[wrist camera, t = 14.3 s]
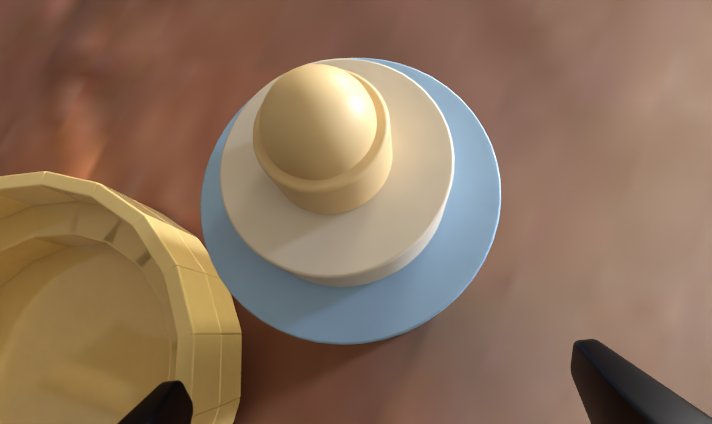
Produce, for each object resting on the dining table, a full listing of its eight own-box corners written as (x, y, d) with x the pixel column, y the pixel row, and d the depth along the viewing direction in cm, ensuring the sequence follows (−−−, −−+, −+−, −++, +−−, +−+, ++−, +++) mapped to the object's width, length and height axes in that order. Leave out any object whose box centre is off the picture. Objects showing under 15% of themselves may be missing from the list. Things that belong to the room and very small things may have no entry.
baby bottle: (389, 374, 16) (339, 499, 4) (270, 272, 18) (-13, 147, 6) (484, 243, 17) (671, 28, 5) (362, 161, 19) (284, -142, 7)
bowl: (168, 659, 14) (63, 803, 10) (-147, 511, 17) (-337, 572, 12) (292, 245, 18) (256, 217, 14) (19, 181, 21) (-82, 141, 16)
